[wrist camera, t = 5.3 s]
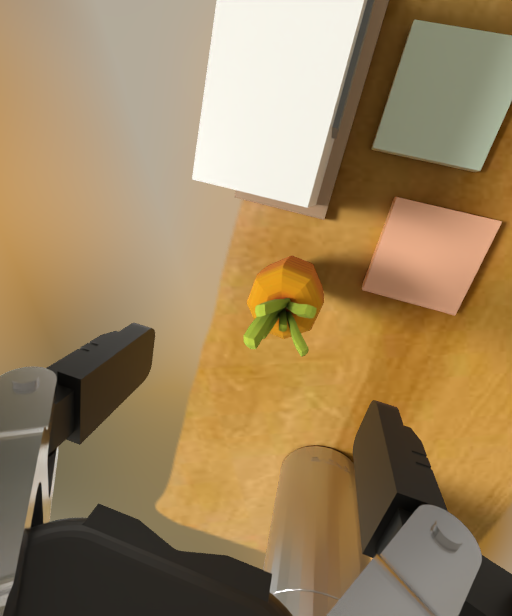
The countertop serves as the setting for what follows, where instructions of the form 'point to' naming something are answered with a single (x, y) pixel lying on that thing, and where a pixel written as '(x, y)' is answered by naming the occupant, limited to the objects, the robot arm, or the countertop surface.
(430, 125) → the sage tile
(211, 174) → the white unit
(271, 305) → the carrot
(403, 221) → the terracotta tile
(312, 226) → the countertop surface
